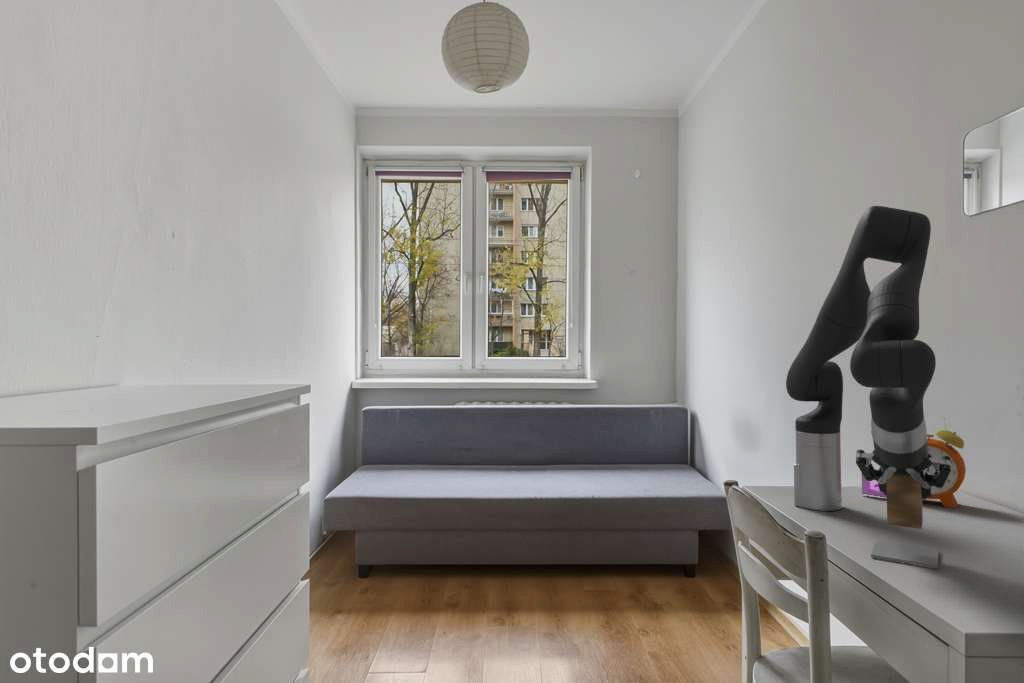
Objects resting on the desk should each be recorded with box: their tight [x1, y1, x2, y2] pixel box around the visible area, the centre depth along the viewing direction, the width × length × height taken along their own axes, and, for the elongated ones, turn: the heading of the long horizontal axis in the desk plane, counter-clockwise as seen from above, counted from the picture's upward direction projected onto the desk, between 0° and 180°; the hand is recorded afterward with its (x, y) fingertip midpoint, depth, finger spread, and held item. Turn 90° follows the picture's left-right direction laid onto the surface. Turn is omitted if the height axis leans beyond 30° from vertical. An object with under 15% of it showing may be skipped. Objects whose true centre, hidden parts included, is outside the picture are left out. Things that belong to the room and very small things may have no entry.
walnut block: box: [886, 474, 924, 530], centre depth 107 cm, size 5×5×11 cm
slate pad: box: [870, 539, 939, 570], centre depth 107 cm, size 10×10×1 cm
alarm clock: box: [924, 415, 967, 509], centre depth 141 cm, size 13×6×20 cm, turn 50°
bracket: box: [861, 473, 887, 498], centre depth 151 cm, size 13×6×7 cm, turn 143°
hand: (904, 492), depth 108 cm, fingers closed on walnut block, 5 cm apart
